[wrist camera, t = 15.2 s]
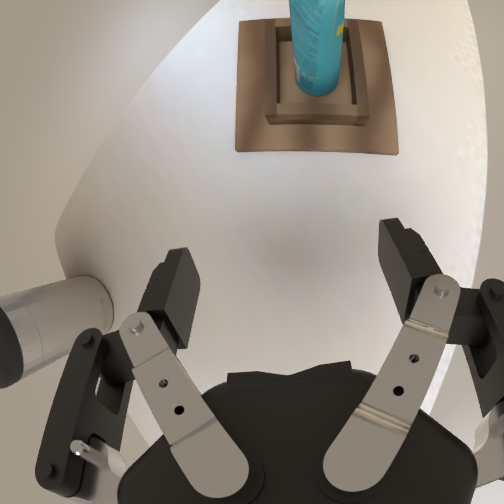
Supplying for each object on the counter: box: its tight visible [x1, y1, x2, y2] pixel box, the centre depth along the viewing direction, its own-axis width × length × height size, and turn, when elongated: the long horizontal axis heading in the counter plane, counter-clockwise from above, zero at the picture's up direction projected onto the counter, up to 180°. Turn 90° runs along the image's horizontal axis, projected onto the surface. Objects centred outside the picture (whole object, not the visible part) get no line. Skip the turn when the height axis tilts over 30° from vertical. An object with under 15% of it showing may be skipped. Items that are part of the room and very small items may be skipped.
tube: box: [289, 0, 345, 96], centre depth 21 cm, size 7×5×19 cm, turn 31°
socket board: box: [235, 18, 399, 155], centre depth 30 cm, size 18×18×5 cm
